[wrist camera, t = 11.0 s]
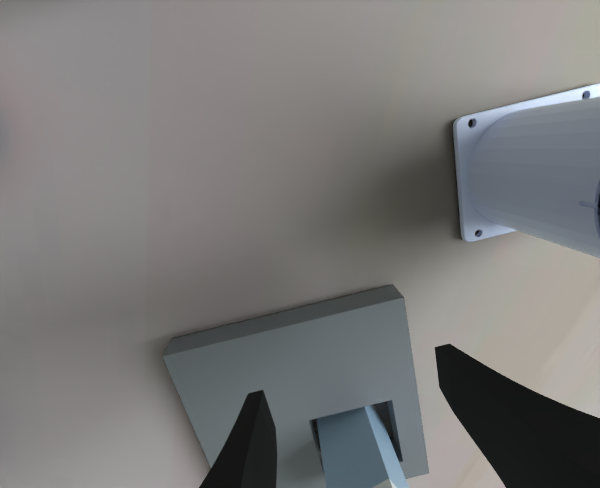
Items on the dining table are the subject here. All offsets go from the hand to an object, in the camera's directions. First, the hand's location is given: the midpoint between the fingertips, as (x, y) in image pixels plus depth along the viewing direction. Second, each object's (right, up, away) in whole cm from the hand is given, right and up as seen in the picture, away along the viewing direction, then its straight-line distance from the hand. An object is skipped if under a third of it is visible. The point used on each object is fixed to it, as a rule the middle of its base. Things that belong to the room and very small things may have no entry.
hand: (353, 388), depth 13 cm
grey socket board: (-2, -6, +12) cm, 13 cm away
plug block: (+2, -8, +12) cm, 15 cm away
